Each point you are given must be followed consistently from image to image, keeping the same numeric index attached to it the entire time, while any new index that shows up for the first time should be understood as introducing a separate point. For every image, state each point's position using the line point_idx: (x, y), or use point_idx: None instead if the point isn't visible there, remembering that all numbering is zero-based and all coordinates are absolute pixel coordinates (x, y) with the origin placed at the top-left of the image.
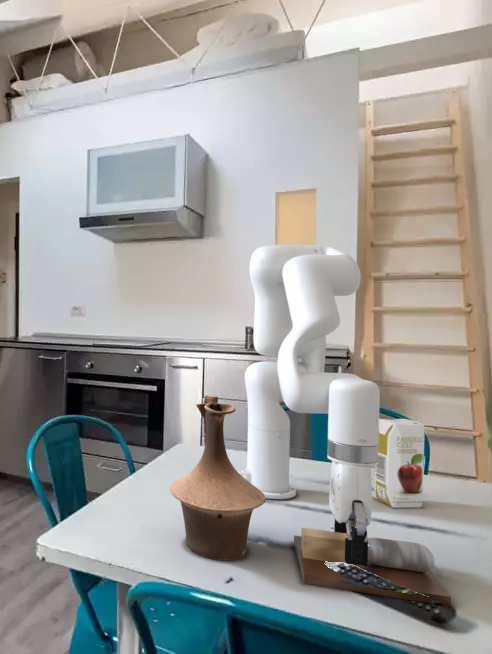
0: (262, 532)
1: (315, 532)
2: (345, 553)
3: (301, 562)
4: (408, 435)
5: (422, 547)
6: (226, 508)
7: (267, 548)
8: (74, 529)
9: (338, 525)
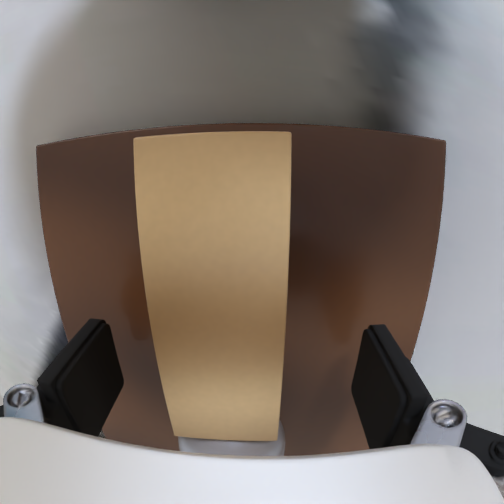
0: (476, 46)
1: (220, 228)
2: (73, 337)
3: (125, 132)
4: None
5: None
6: None
7: (331, 19)
8: None
9: (385, 380)
